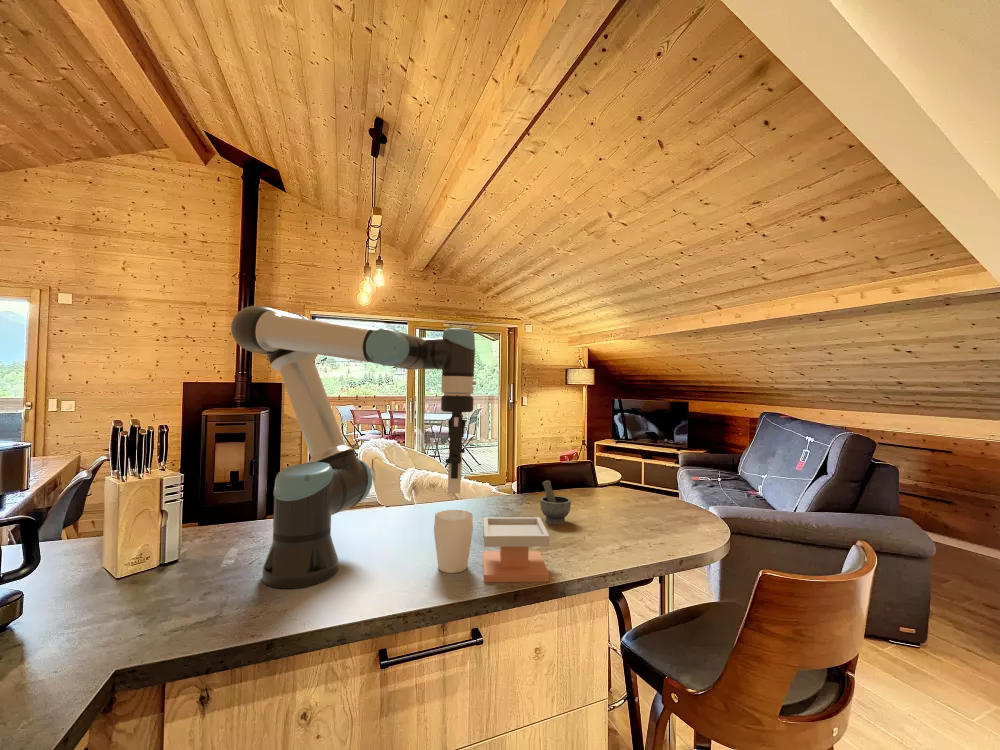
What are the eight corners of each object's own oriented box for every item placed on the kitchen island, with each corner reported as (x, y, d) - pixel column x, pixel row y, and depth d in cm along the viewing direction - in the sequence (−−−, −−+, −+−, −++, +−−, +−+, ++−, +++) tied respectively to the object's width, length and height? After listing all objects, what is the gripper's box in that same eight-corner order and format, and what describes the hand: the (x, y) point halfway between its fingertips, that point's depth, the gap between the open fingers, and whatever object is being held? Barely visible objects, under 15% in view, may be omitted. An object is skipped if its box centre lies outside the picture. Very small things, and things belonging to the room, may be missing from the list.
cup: (466, 577, 96) (467, 521, 97) (427, 573, 98) (428, 518, 98) (476, 561, 105) (477, 511, 106) (440, 558, 107) (441, 508, 107)
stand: (483, 582, 94) (484, 536, 94) (482, 557, 108) (483, 517, 108) (548, 581, 95) (549, 536, 95) (539, 557, 109) (539, 517, 109)
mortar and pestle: (577, 523, 136) (577, 484, 137) (552, 528, 132) (552, 487, 132) (555, 514, 146) (556, 478, 147) (531, 518, 142) (532, 480, 142)
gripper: (474, 396, 91) (471, 499, 90) (473, 394, 116) (470, 475, 115) (437, 395, 91) (434, 499, 90) (444, 393, 116) (442, 475, 115)
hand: (454, 486), depth 103 cm, fingers open, 13 cm apart
